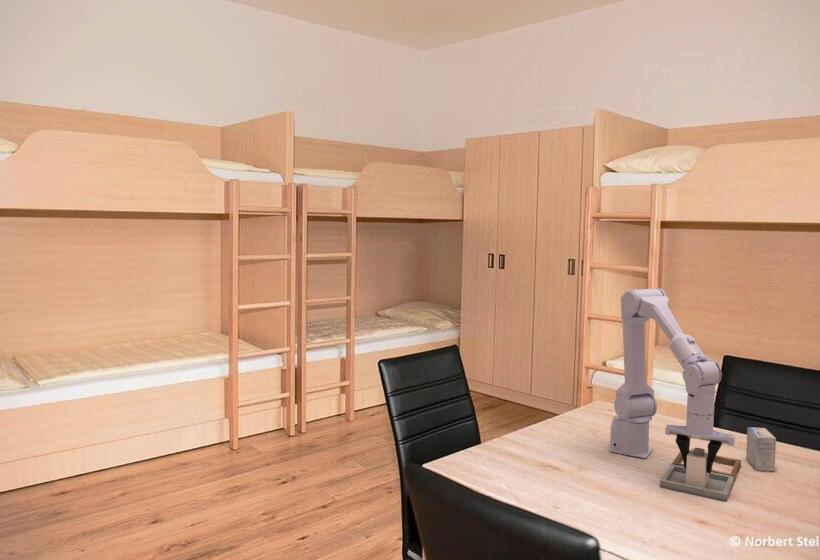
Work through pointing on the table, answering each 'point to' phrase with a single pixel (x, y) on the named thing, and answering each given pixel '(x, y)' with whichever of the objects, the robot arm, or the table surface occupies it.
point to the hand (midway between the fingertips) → (697, 469)
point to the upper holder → (718, 459)
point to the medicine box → (761, 449)
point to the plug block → (697, 468)
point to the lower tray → (714, 489)
